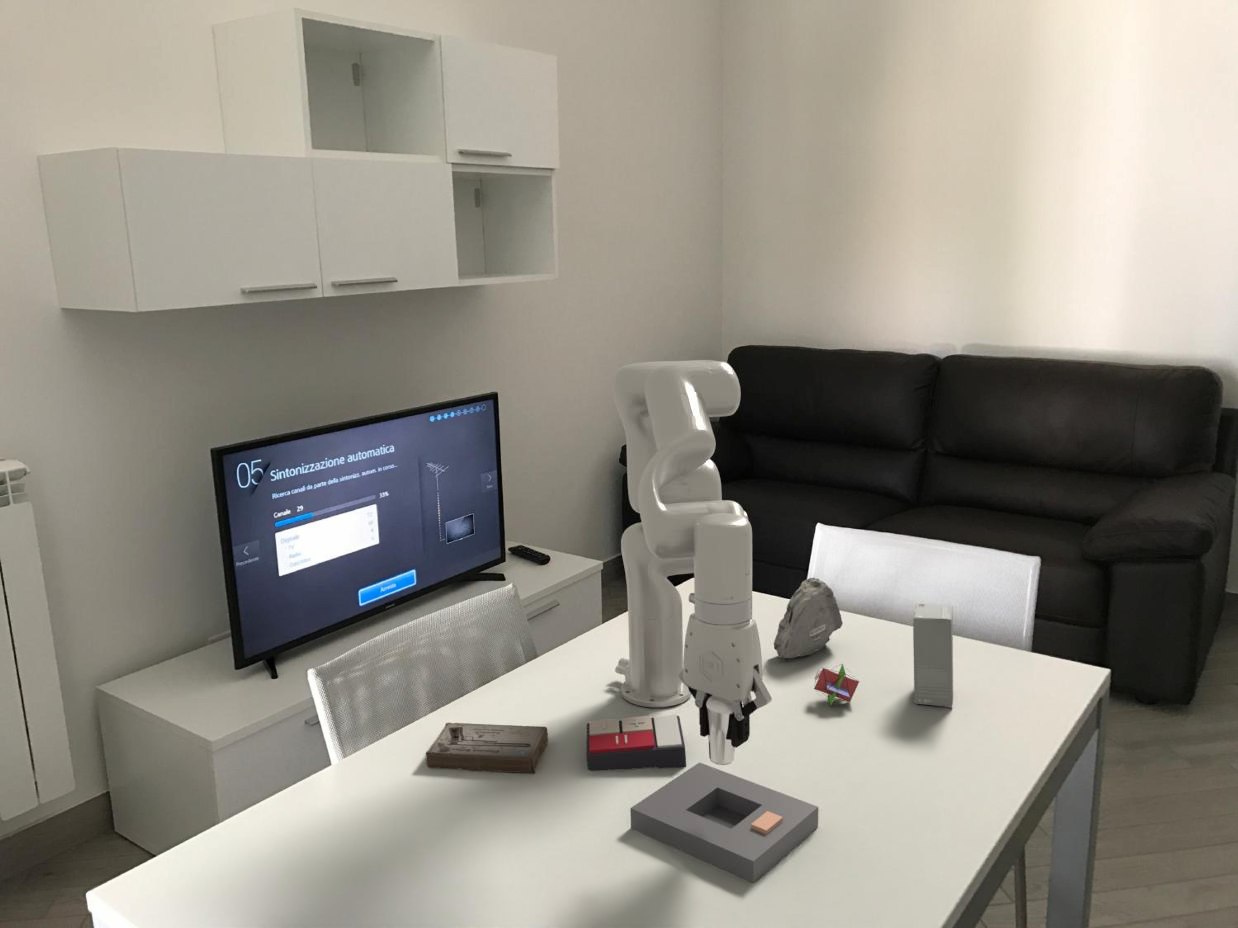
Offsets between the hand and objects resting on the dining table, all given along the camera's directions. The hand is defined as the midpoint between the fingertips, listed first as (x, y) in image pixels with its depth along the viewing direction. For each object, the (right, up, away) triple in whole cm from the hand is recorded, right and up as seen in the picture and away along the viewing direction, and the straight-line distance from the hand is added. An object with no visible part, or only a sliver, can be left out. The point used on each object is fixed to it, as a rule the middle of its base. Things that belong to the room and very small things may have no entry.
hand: (724, 736), depth 138 cm
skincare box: (+40, -4, +41) cm, 58 cm away
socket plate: (0, -13, +3) cm, 14 cm away
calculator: (-12, -9, +25) cm, 29 cm away
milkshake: (0, -3, +1) cm, 4 cm away
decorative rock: (+23, 0, +62) cm, 66 cm away
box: (-35, -10, +25) cm, 44 cm away
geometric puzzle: (+24, -5, +40) cm, 47 cm away
